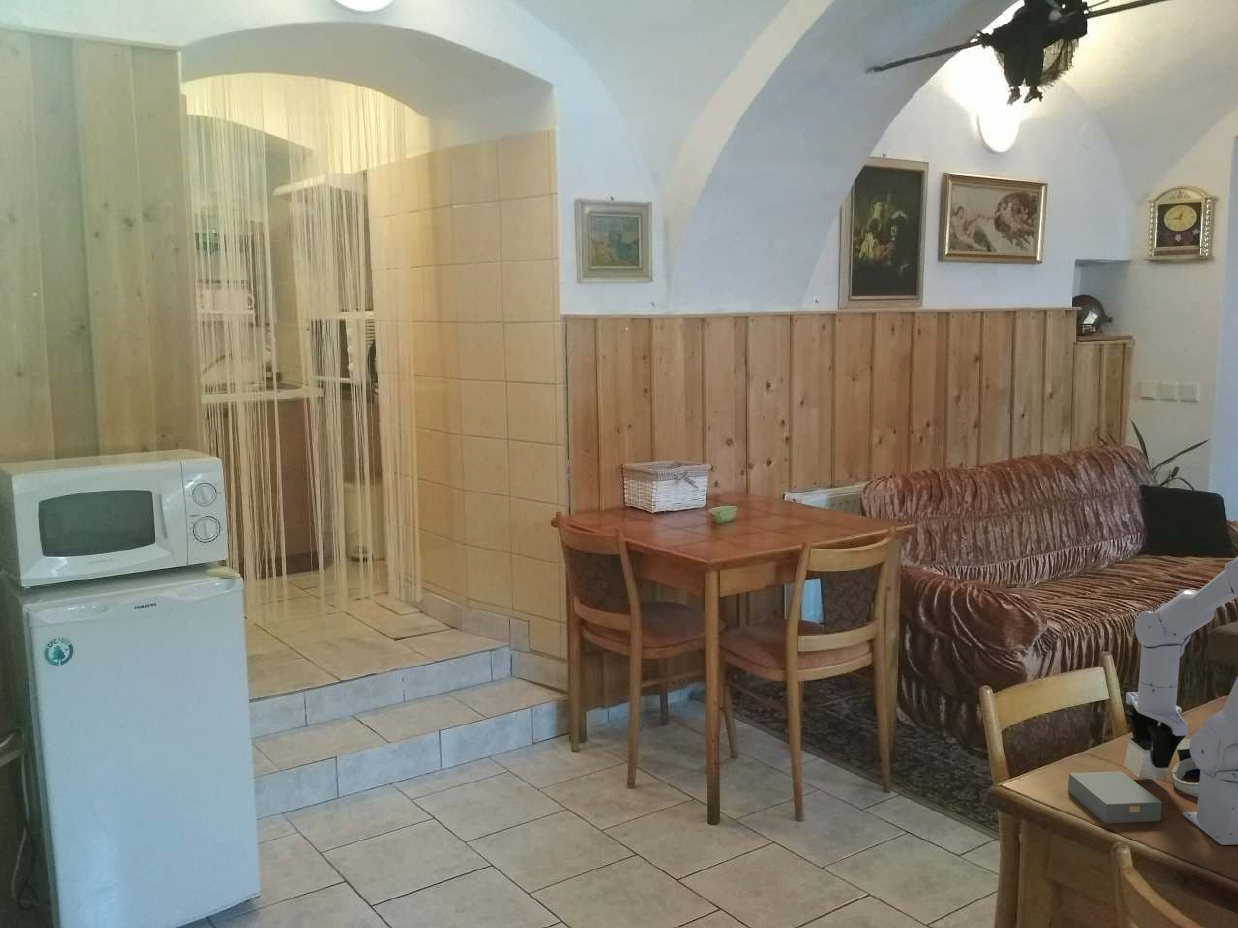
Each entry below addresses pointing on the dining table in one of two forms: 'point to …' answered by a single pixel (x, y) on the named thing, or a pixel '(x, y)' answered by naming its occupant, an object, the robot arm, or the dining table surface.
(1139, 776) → the tea tin
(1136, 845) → the dining table surface
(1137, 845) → the dining table surface
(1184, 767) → the watch
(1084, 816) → the dining table surface
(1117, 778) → the watch box
